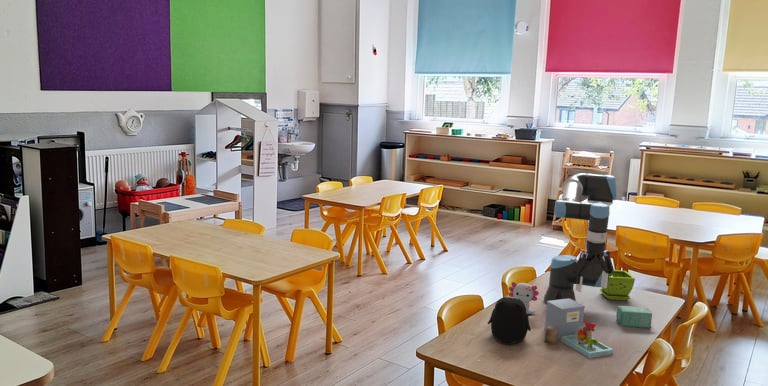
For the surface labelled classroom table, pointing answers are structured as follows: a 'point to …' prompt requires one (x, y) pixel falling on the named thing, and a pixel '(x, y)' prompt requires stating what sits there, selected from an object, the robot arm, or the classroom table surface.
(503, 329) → the penguin
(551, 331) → the walnut dowel
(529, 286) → the toy
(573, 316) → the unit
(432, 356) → the classroom table surface
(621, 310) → the box
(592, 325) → the bird rattle
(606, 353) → the tray
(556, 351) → the classroom table surface
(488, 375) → the classroom table surface
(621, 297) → the flower pot
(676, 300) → the classroom table surface
